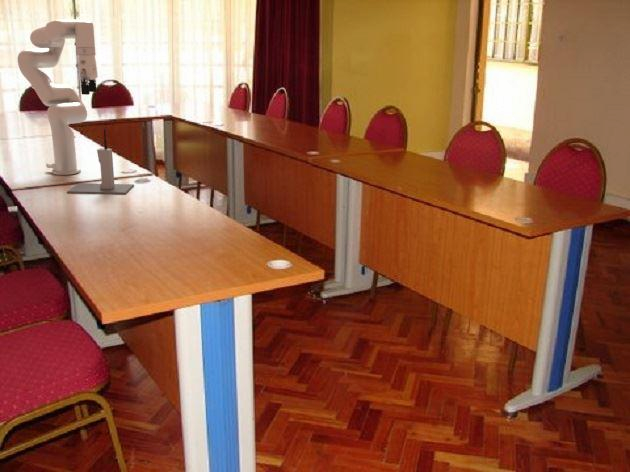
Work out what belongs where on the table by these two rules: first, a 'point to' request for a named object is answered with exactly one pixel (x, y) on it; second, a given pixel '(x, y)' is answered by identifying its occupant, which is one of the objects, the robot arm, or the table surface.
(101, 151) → the vintage mobile phone
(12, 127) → the table surface
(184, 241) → the table surface
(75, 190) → the mat
